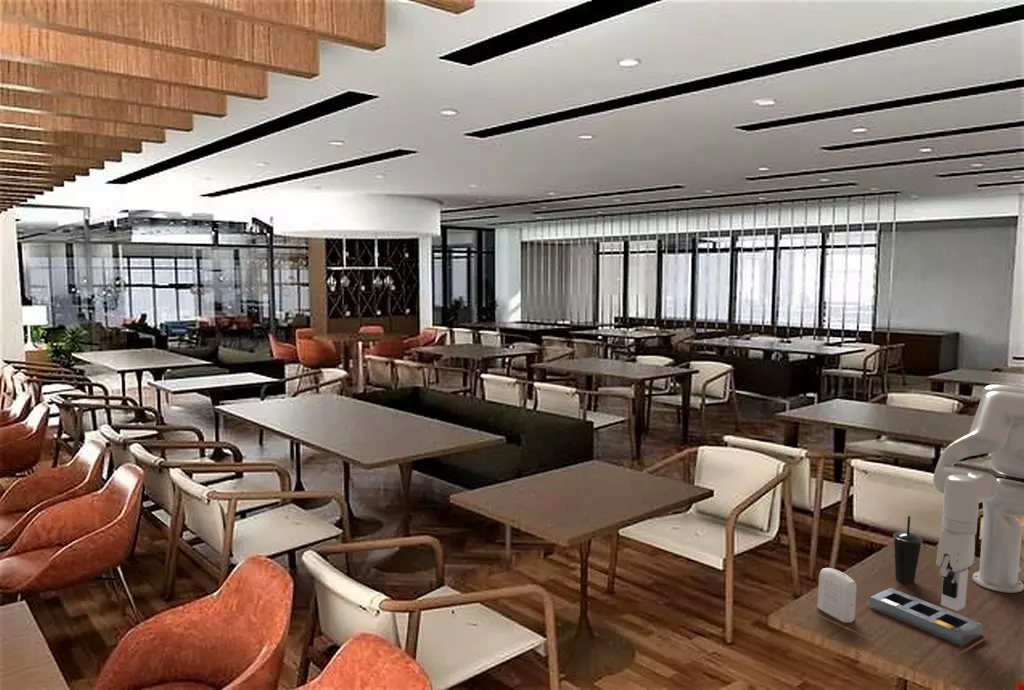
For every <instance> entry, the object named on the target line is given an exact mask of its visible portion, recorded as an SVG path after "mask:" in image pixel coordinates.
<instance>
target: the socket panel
mask: <svg viewBox="0 0 1024 690" xmlns="http://www.w3.org/2000/svg"><path fill="white" fill-rule="evenodd" d="M869 608H870V609H872V610H875V611H878V612H879V613H882V614H885V615H887V616H889V617H891V618H894V619H896V620H897V621H901V622H904V623H906V624H908V625H911V626H912V627H915V628H918V629H920V630H923V631H925V632H927V633H929V634H932V635H934V636H937V637H939V638H941V639H944V640H946V641H948V642H951V643H953V644H956V645H957V646H960V647H964V645H967V644H968V643H971V642H972V641H973V640H975V639H977V638H979V637H980V636H982V635H983V623H982V622H980V621H977V620H974V619H971V618H969V617H967V616H964V615H961V614H959V613H956V612H954V611H952V610H949V609H946V608H944V607H942V606H938V605H935V604H933V603H932V602H928V601H925V600H924V599H920V598H919V597H915V596H912V595H910V594H907V593H904V592H903V591H900V590H897V589H894V588H892V587H889V588H887V589H885V590H882V591H880V592H878V593H876V594H874V595H871V596H870V597H869Z"/></svg>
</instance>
